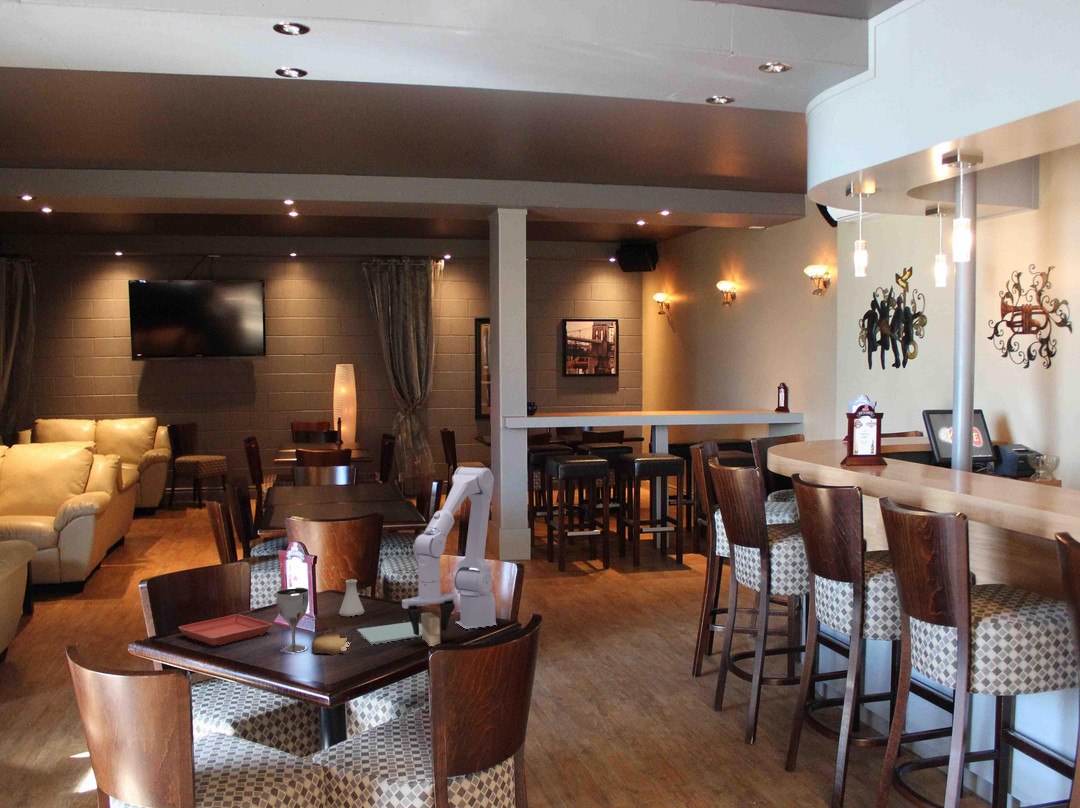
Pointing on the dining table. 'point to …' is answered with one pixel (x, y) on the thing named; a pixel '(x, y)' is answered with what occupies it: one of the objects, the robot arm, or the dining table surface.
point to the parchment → (330, 643)
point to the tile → (430, 628)
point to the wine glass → (292, 610)
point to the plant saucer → (225, 629)
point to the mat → (389, 633)
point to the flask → (351, 600)
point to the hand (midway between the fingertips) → (430, 632)
